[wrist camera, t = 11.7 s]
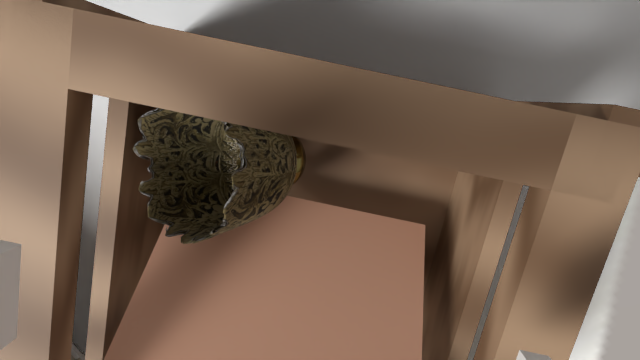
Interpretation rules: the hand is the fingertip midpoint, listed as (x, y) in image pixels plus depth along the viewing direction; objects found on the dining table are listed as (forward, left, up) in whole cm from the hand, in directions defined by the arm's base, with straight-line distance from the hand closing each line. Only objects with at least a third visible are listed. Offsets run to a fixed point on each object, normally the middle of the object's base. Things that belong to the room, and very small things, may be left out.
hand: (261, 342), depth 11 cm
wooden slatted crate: (+3, 0, -19) cm, 19 cm away
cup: (-2, -2, -16) cm, 16 cm away
